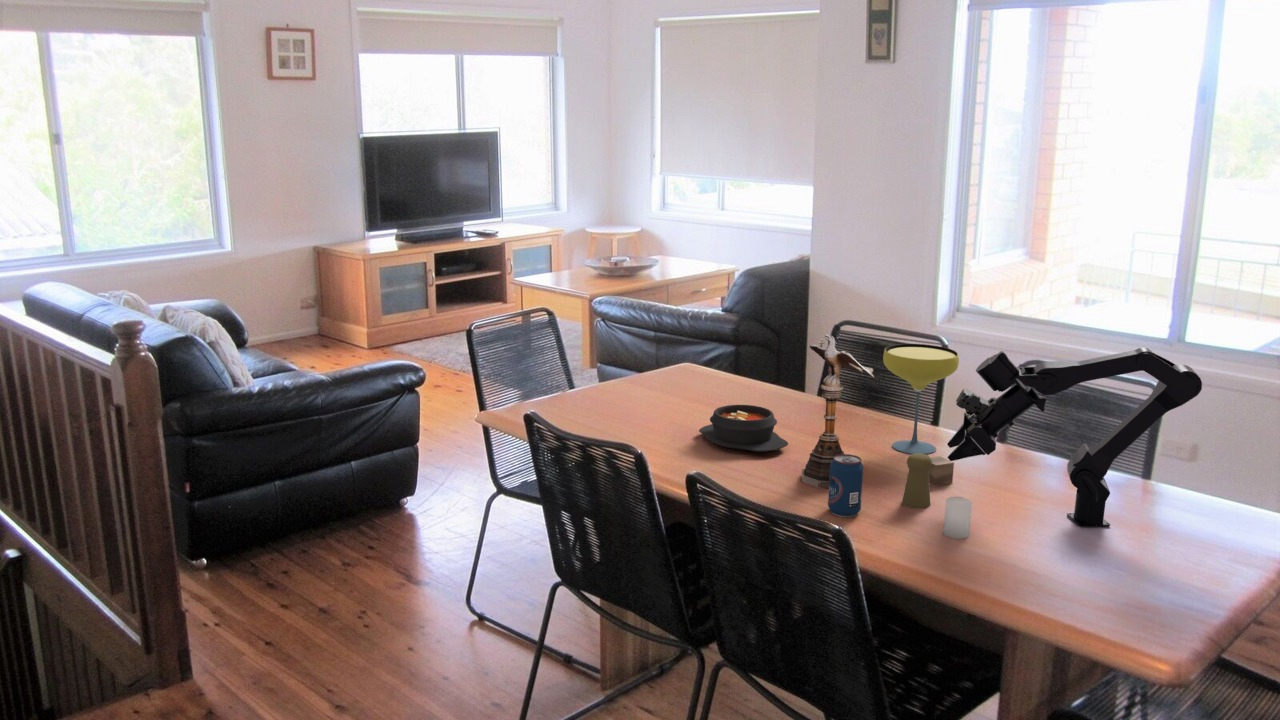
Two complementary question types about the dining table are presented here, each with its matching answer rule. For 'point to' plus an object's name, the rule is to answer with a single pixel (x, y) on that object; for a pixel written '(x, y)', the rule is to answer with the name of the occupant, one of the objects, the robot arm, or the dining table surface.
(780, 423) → the dining table surface
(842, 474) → the soda can
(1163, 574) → the dining table surface
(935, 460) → the walnut block
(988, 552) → the dining table surface
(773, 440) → the casserole
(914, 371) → the cocktail glass
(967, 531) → the off-white cylinder
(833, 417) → the bird statue
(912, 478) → the cork
